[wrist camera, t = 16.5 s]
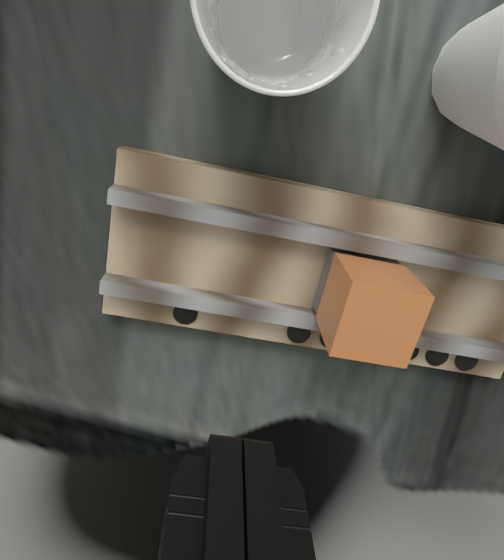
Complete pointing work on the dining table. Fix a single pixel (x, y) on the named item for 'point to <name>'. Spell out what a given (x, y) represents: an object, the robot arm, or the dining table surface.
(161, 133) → the dining table surface
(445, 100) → the foam cup
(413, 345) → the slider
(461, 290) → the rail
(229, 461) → the robot arm
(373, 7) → the white cup
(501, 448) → the dining table surface
